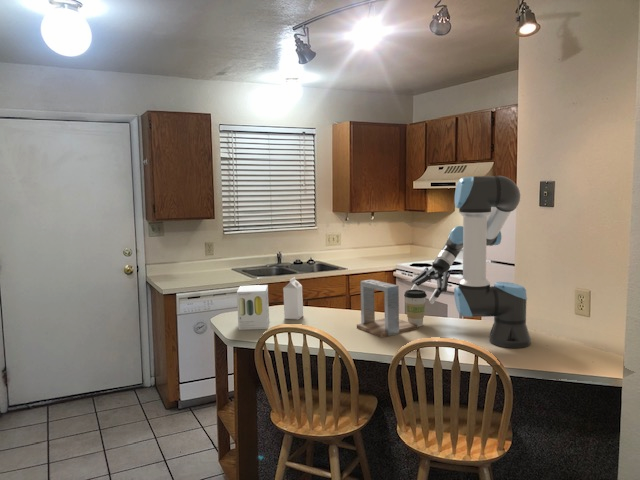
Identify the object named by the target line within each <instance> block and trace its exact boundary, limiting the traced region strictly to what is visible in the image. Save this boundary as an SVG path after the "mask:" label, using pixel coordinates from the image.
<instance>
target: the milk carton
mask: <svg viewBox="0 0 640 480" xmlns="http://www.w3.org/2000/svg"><path fill="white" fill-rule="evenodd" d="M282 291H283V312H284V313H283V314H284V315H283V316H284V317H283V318H284V319H285V320H300V319H301V318H303V316H304V302H303V300H304V299H303V285H302V284H301V283H300V282H299V281H298V280H296V276H294V277H292V278H290V279H289V282H288V284H286V285H285V286H284V287H282Z"/></svg>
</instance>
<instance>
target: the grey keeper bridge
mask: <svg viewBox="0 0 640 480" xmlns="http://www.w3.org/2000/svg"><path fill="white" fill-rule="evenodd" d="M375 290H377V291H379V292H380V291H381V292H383V293H384V299H383V300H384V301H383V302H384V318H385V332H387V336H386V337H390V336H395V335H398V334H400V333H399V319H400V312H399V311H400V303H399V299H400V297H399V294H400V293H399V292H400V291H399V285H398V284H397V285H396V284H393V283H389V282H384V281H381V280H376V279H372V278H371V279H365V280H360V315H361V316H360V321H361V323H360V324H367V323H371V322H375V318H376V317H375V315H376V314H375V309H376V308H375Z"/></svg>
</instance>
